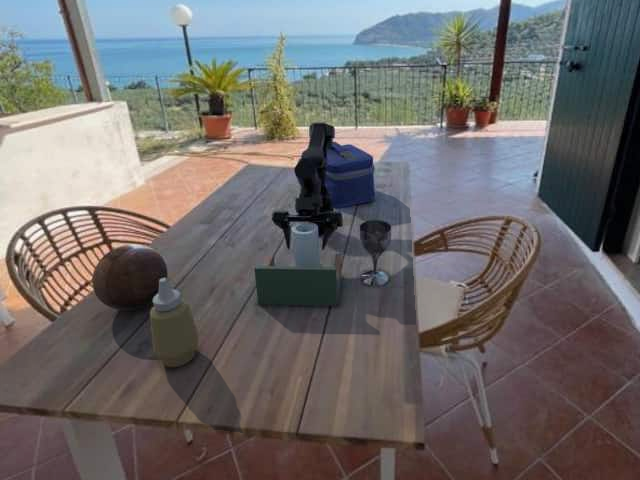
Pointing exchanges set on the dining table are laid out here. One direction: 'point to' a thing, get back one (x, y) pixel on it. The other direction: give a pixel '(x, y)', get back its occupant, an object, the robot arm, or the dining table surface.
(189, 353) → the squeeze bottle
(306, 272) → the cubby cabinet
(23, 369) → the dining table surface
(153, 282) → the wooden sphere
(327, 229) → the robot arm
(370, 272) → the wine glass
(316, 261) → the storage jar
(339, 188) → the lunch bag
